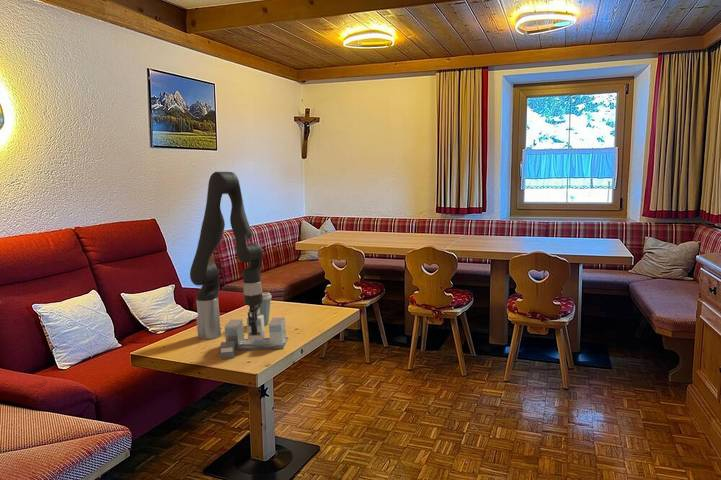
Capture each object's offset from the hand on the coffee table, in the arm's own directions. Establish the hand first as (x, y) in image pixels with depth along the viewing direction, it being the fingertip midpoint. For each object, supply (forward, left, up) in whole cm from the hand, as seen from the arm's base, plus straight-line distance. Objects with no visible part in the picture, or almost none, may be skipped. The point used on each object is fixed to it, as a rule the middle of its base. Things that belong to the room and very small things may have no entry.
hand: (255, 332), depth 224 cm
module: (0, 0, -3) cm, 3 cm away
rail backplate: (0, 0, -6) cm, 6 cm away
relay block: (-9, -12, -6) cm, 16 cm away
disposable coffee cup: (-4, +31, -6) cm, 32 cm away
